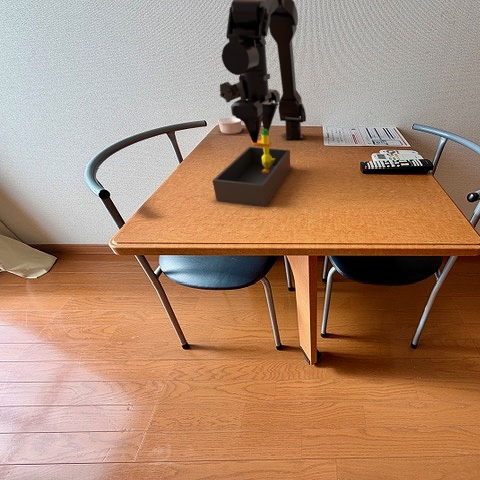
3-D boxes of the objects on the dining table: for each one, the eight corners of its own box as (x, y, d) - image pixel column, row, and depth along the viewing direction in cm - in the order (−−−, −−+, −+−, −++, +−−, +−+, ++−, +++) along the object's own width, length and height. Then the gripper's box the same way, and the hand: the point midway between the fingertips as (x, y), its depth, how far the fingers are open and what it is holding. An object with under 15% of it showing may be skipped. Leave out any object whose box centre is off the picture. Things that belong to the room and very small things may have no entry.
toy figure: (252, 173, 82) (246, 129, 75) (256, 168, 85) (251, 126, 77) (274, 175, 81) (271, 132, 74) (278, 170, 84) (276, 128, 76)
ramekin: (223, 127, 117) (221, 116, 114) (245, 128, 117) (243, 117, 114) (216, 134, 110) (214, 122, 107) (240, 135, 110) (238, 123, 107)
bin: (251, 164, 88) (249, 146, 85) (290, 168, 87) (289, 150, 83) (216, 201, 70) (212, 180, 66) (265, 206, 68) (263, 185, 65)
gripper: (237, 63, 75) (245, 125, 85) (202, 72, 61) (216, 146, 70) (278, 65, 74) (281, 128, 83) (253, 75, 59) (260, 150, 69)
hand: (261, 137), depth 76 cm, fingers open, 9 cm apart
